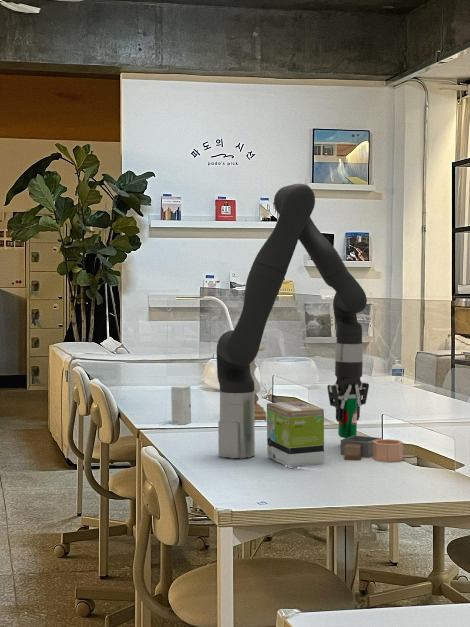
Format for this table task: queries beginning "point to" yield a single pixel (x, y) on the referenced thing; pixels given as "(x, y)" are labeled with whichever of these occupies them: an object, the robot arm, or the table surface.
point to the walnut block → (352, 452)
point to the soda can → (349, 418)
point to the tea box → (295, 433)
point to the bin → (360, 440)
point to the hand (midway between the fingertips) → (347, 420)
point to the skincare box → (181, 404)
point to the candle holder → (259, 410)
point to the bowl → (388, 450)
